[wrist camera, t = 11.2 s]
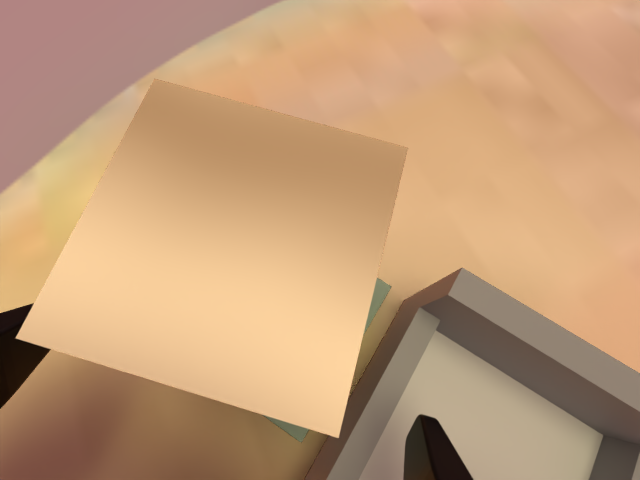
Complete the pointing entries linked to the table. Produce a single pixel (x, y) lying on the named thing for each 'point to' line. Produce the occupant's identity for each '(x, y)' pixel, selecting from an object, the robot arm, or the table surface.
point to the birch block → (227, 256)
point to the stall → (488, 394)
